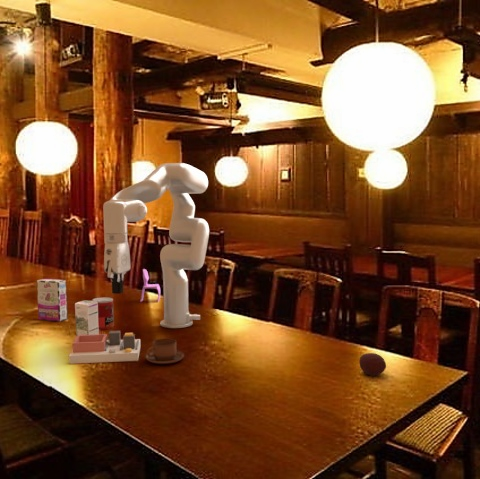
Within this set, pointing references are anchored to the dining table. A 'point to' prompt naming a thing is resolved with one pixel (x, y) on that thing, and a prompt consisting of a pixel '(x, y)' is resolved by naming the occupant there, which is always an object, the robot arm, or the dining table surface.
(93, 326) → the syrup box
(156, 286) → the toy chair
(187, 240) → the robot arm
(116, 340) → the block
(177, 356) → the cup and saucer
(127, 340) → the tagged breaker
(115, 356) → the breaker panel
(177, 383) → the dining table surface
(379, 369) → the potato
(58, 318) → the candy bar box
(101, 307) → the canned food
